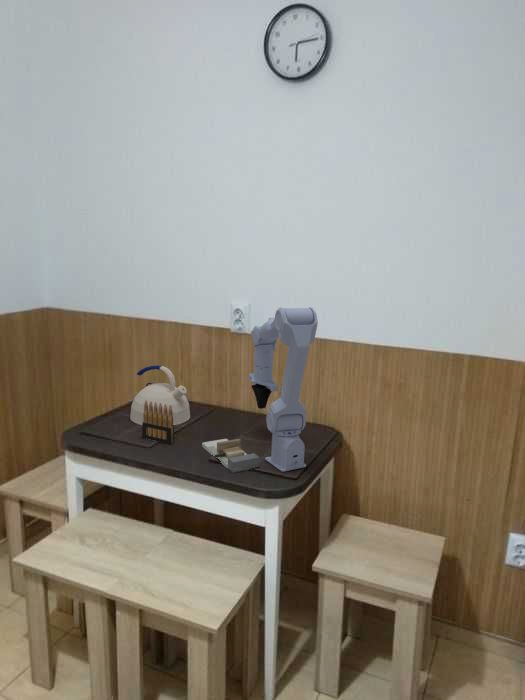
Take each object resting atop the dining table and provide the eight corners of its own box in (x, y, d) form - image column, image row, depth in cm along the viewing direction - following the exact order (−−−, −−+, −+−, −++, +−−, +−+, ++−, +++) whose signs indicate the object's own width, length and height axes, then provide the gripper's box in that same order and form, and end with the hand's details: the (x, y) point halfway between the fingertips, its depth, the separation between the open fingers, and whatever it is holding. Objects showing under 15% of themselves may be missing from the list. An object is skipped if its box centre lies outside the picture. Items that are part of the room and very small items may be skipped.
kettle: (165, 432, 170) (165, 376, 166) (116, 419, 180) (115, 366, 176) (203, 415, 187) (203, 364, 183) (157, 404, 197) (157, 356, 193)
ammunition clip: (141, 438, 164) (141, 400, 161) (145, 436, 166) (145, 398, 163) (171, 444, 160) (171, 406, 157) (174, 442, 161) (174, 404, 159)
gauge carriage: (247, 454, 151) (247, 444, 150) (218, 460, 146) (218, 450, 145) (238, 448, 155) (239, 438, 154) (210, 453, 150) (210, 443, 150)
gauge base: (259, 467, 146) (259, 457, 146) (232, 473, 142) (233, 462, 142) (226, 442, 163) (226, 432, 162) (202, 446, 159) (202, 437, 159)
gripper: (240, 361, 168) (239, 402, 171) (264, 372, 156) (262, 416, 159) (260, 359, 172) (258, 400, 175) (284, 369, 160) (282, 413, 163)
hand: (261, 407), depth 167 cm, fingers closed
